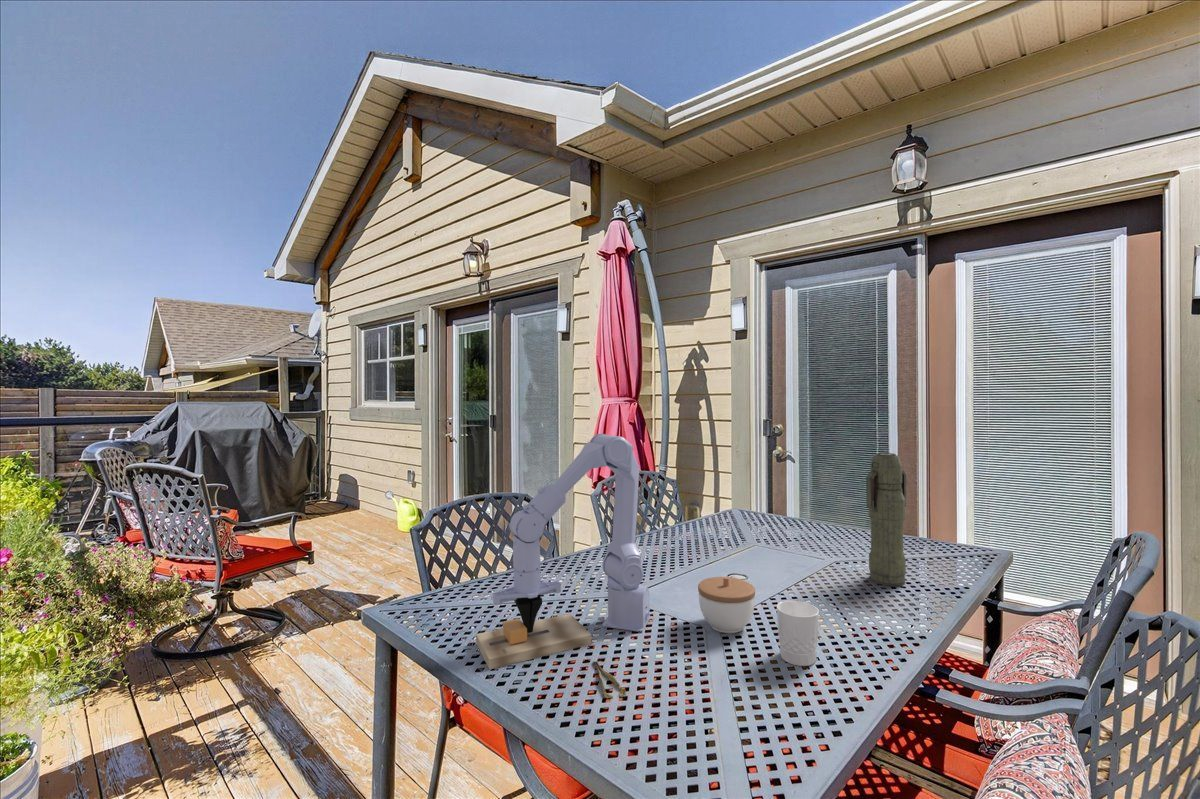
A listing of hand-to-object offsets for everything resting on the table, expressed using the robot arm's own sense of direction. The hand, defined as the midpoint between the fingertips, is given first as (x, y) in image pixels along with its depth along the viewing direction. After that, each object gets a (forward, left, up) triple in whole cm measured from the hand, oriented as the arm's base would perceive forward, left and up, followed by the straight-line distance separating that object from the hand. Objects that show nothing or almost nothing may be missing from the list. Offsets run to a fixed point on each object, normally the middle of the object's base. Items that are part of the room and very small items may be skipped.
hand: (528, 630), depth 113 cm
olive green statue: (-78, -62, -3) cm, 100 cm away
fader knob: (+2, +2, -1) cm, 3 cm away
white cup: (-54, -11, -3) cm, 56 cm away
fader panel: (-1, -1, -3) cm, 3 cm away
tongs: (-20, +8, -4) cm, 21 cm away
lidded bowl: (-39, -21, -3) cm, 45 cm away
